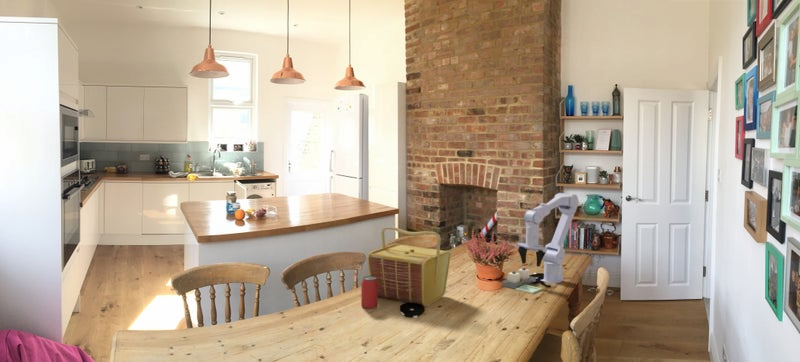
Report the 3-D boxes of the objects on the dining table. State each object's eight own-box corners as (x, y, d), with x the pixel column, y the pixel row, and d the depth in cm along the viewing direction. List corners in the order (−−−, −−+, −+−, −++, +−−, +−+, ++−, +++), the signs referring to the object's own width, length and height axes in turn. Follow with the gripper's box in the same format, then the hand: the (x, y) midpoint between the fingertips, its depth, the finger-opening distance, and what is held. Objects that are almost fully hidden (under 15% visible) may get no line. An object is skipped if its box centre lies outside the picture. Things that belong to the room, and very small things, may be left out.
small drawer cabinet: (520, 279, 258) (521, 272, 257) (535, 282, 252) (535, 276, 252) (501, 286, 245) (501, 280, 244) (515, 290, 239) (516, 283, 239)
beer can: (375, 309, 210) (375, 280, 209) (359, 308, 212) (359, 279, 210) (379, 304, 217) (379, 276, 216) (363, 303, 218) (363, 275, 217)
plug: (511, 284, 248) (512, 270, 247) (519, 286, 245) (519, 271, 245) (507, 286, 245) (507, 271, 244) (514, 288, 242) (515, 273, 242)
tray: (525, 287, 245) (525, 284, 245) (541, 290, 239) (541, 288, 239) (515, 290, 239) (515, 288, 238) (532, 294, 233) (532, 292, 233)
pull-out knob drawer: (521, 281, 255) (522, 266, 254) (529, 282, 252) (529, 268, 251) (517, 282, 252) (518, 268, 251) (524, 284, 249) (525, 269, 248)
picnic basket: (452, 295, 231) (453, 228, 228) (425, 311, 209) (426, 237, 206) (395, 284, 246) (396, 221, 243) (364, 299, 224) (365, 230, 221)
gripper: (514, 235, 246) (513, 263, 247) (542, 239, 236) (541, 269, 237) (521, 233, 251) (520, 260, 252) (549, 237, 241) (548, 266, 242)
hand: (531, 264), depth 245 cm, fingers open, 7 cm apart
